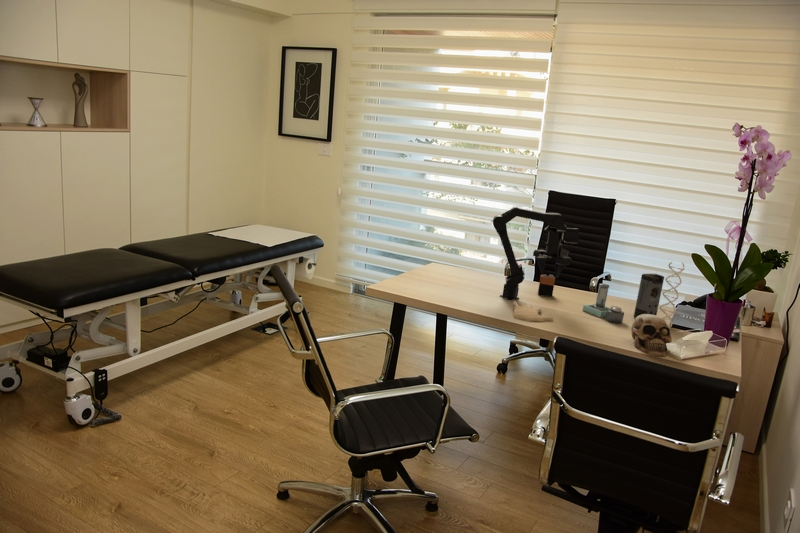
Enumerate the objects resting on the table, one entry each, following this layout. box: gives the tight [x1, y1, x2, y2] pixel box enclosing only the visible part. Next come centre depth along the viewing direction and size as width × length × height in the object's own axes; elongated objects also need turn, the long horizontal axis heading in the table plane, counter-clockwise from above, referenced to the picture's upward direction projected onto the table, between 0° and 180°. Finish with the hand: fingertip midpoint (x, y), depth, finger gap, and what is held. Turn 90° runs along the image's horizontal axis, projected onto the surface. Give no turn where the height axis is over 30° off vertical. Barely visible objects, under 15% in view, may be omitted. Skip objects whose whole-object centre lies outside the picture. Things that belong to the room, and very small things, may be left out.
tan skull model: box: [630, 314, 673, 358], centre depth 232 cm, size 16×17×13 cm
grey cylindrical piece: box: [594, 282, 610, 311], centre depth 271 cm, size 5×5×12 cm
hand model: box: [512, 300, 554, 323], centre depth 259 cm, size 19×5×20 cm
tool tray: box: [582, 303, 611, 318], centre depth 273 cm, size 10×10×3 cm
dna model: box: [659, 261, 685, 329], centre depth 250 cm, size 7×6×30 cm
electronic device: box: [633, 273, 665, 319], centre depth 270 cm, size 9×6×20 cm, turn 117°
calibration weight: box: [604, 305, 625, 325], centre depth 262 cm, size 7×7×6 cm
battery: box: [537, 273, 556, 298], centre depth 295 cm, size 4×7×10 cm, turn 75°
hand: (549, 275), depth 279 cm, fingers open, 9 cm apart
